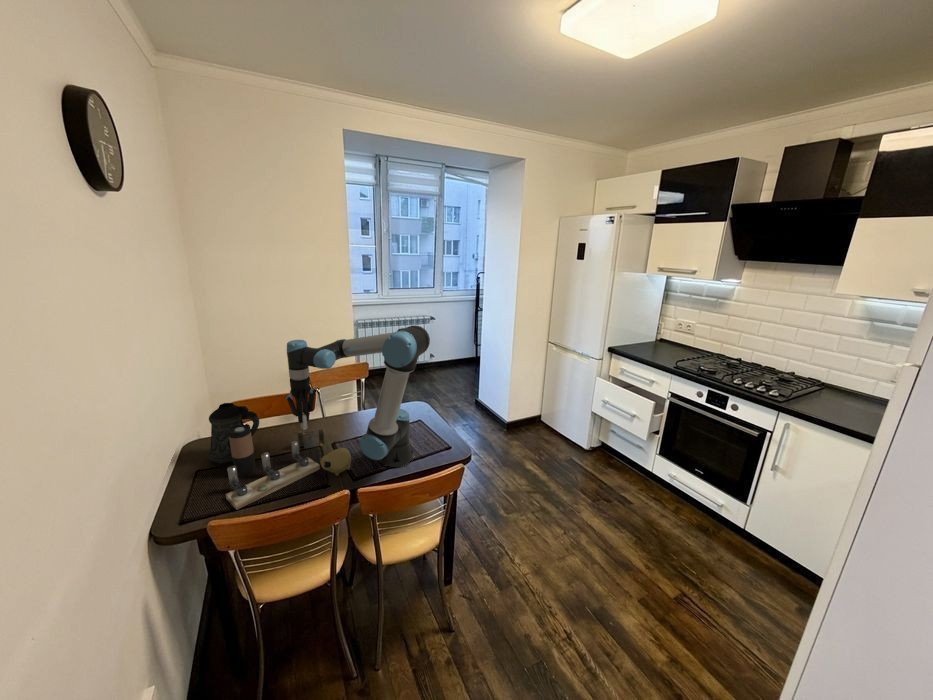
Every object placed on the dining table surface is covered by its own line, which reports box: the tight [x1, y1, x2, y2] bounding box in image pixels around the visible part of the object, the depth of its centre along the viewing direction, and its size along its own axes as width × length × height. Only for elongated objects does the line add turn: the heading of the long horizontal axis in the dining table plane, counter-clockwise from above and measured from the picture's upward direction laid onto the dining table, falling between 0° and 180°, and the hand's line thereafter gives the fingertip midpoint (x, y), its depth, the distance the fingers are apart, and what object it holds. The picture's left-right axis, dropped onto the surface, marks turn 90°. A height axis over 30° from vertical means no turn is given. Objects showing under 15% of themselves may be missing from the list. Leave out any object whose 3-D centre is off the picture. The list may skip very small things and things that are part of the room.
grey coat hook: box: [290, 440, 309, 466], centre depth 152 cm, size 10×3×8 cm, turn 52°
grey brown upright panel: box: [296, 428, 326, 450], centre depth 168 cm, size 11×3×10 cm, turn 114°
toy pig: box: [319, 447, 352, 476], centre depth 150 cm, size 10×12×11 cm
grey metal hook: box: [260, 451, 280, 480], centre depth 143 cm, size 10×3×8 cm, turn 52°
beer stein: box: [207, 402, 260, 469], centre depth 156 cm, size 16×19×25 cm
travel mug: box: [228, 423, 257, 478], centre depth 146 cm, size 8×8×20 cm
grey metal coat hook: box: [226, 466, 248, 496], centre depth 134 cm, size 10×3×8 cm, turn 52°
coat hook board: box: [225, 456, 321, 511], centre depth 143 cm, size 9×32×3 cm, turn 142°
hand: (304, 428), depth 156 cm, fingers closed
